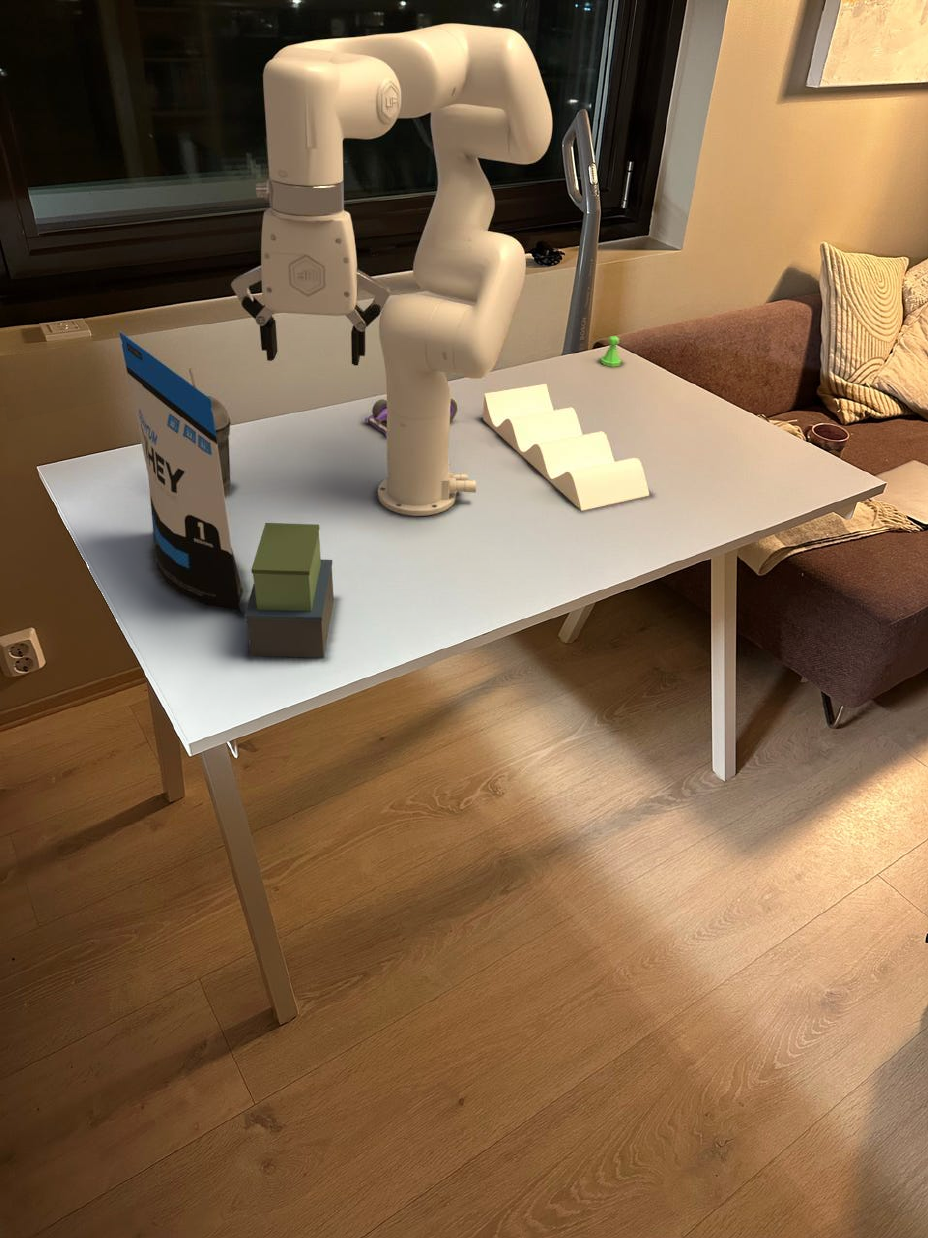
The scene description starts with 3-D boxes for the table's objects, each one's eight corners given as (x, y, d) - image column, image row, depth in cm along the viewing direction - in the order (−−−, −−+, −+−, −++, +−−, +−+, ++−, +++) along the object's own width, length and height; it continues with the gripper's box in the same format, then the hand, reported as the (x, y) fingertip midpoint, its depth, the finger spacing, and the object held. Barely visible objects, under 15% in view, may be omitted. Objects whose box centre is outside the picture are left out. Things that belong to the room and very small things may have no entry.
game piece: (624, 363, 189) (629, 336, 185) (612, 368, 186) (616, 340, 183) (608, 357, 191) (613, 330, 188) (596, 362, 189) (600, 334, 185)
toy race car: (360, 420, 161) (359, 387, 157) (426, 402, 169) (427, 369, 165) (390, 440, 156) (390, 406, 152) (457, 420, 163) (458, 387, 159)
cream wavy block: (581, 510, 140) (585, 482, 137) (482, 419, 164) (484, 393, 161) (649, 495, 145) (654, 467, 142) (543, 409, 169) (546, 383, 166)
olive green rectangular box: (269, 562, 113) (265, 522, 110) (321, 563, 114) (319, 524, 110) (256, 610, 105) (251, 569, 102) (312, 611, 106) (309, 571, 102)
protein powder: (189, 522, 132) (154, 324, 113) (272, 601, 118) (249, 389, 99) (128, 542, 127) (81, 339, 108) (207, 627, 113) (170, 409, 94)
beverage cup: (228, 504, 136) (210, 381, 124) (184, 497, 137) (162, 375, 125) (246, 481, 142) (231, 362, 130) (204, 475, 143) (185, 356, 130)
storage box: (265, 597, 118) (261, 557, 114) (334, 599, 119) (332, 559, 115) (249, 656, 109) (244, 615, 105) (324, 658, 109) (321, 617, 105)
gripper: (215, 200, 88) (232, 366, 98) (388, 211, 89) (387, 375, 99) (231, 185, 94) (245, 343, 104) (392, 196, 95) (391, 351, 105)
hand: (314, 358), depth 102 cm, fingers open, 9 cm apart
